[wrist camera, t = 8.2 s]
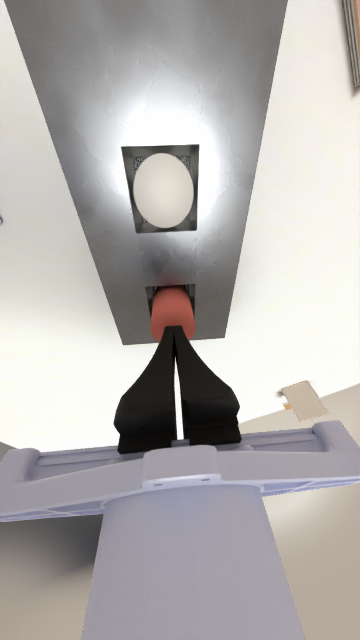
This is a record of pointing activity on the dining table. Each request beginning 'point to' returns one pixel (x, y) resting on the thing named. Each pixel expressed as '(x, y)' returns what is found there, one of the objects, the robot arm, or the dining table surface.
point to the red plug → (172, 311)
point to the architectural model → (303, 401)
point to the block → (156, 134)
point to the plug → (163, 190)
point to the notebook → (354, 35)
